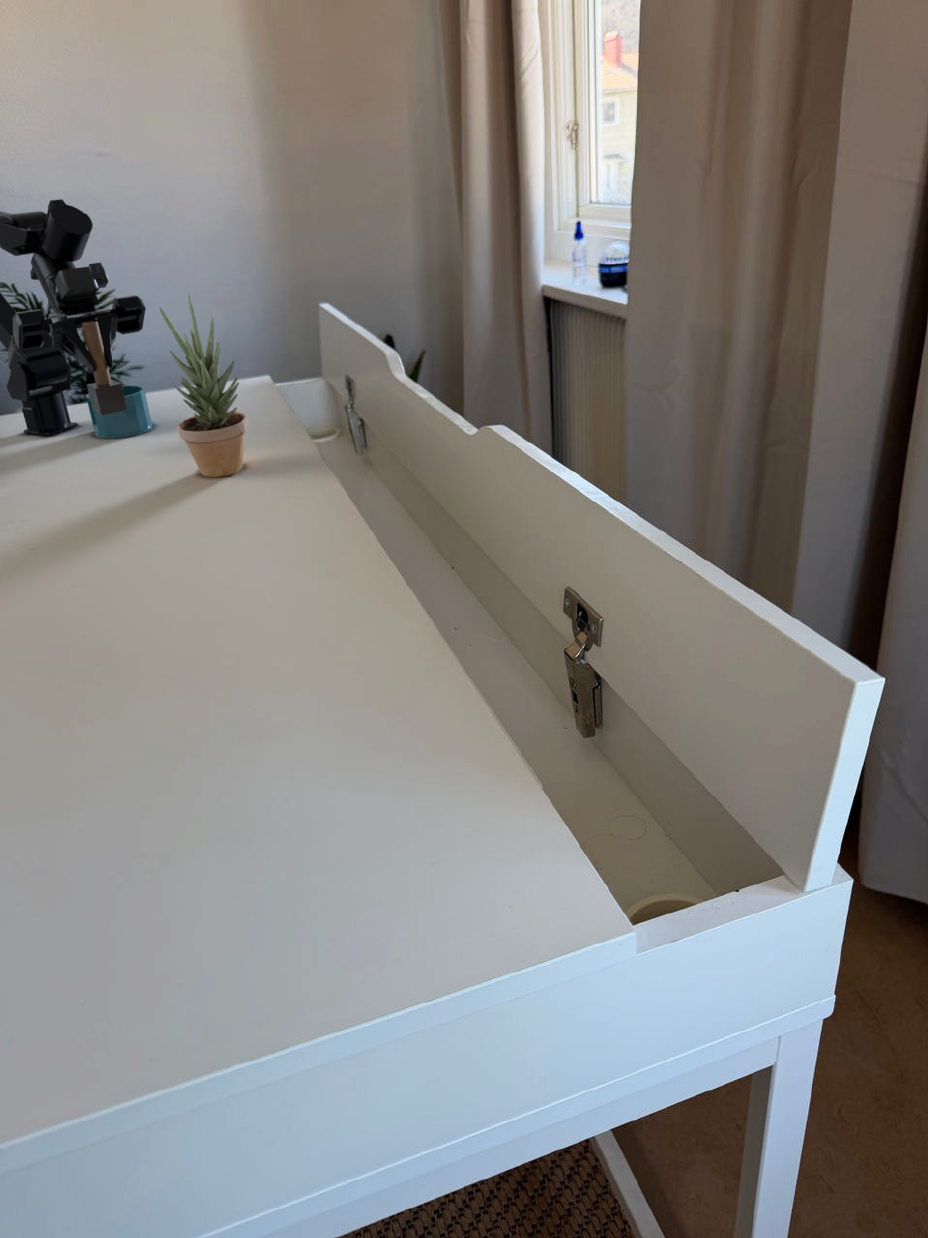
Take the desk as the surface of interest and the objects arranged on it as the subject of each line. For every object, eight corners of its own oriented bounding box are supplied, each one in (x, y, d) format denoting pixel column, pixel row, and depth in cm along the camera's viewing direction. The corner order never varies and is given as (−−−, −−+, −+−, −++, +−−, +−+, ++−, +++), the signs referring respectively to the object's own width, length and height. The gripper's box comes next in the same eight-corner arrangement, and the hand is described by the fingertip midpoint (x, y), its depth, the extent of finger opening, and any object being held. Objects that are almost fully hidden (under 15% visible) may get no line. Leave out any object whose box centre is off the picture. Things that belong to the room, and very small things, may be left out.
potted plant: (173, 478, 134) (135, 297, 122) (213, 458, 141) (180, 285, 130) (232, 483, 130) (198, 297, 119) (269, 462, 138) (241, 285, 127)
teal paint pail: (123, 421, 164) (114, 383, 161) (163, 424, 161) (155, 386, 158) (83, 436, 157) (74, 397, 154) (125, 440, 153) (116, 400, 150)
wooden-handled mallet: (92, 410, 144) (71, 322, 138) (118, 405, 146) (98, 318, 140) (101, 415, 141) (80, 326, 135) (127, 409, 143) (107, 321, 137)
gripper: (-5, 253, 131) (38, 344, 128) (127, 238, 141) (170, 323, 138) (-3, 306, 140) (37, 392, 137) (121, 288, 150) (161, 369, 147)
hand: (102, 368), depth 140 cm, fingers closed on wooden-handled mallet, 2 cm apart
